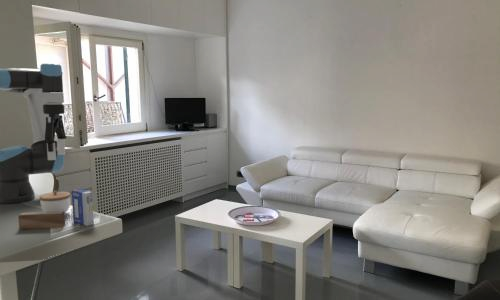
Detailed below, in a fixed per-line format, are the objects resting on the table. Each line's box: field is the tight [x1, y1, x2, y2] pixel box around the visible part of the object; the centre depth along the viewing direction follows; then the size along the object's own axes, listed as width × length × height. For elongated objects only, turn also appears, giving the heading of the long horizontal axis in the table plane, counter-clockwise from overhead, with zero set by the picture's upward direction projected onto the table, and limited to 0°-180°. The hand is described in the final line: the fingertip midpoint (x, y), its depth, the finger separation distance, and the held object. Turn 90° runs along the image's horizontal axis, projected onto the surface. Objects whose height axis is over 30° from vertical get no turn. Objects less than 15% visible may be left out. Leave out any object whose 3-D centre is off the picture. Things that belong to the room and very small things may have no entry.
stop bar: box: [17, 211, 66, 231], centre depth 139 cm, size 3×14×5 cm, turn 99°
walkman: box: [71, 188, 95, 227], centre depth 143 cm, size 8×3×12 cm, turn 59°
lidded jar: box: [39, 190, 72, 214], centre depth 154 cm, size 11×11×9 cm
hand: (56, 157), depth 161 cm, fingers open, 13 cm apart
